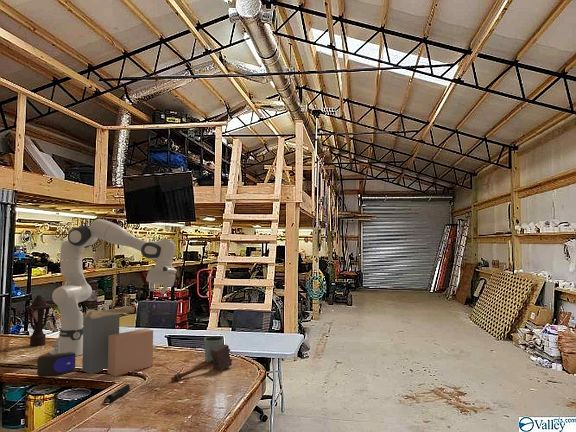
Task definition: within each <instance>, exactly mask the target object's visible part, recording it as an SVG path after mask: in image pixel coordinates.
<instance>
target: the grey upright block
mask: <svg viewBox="0 0 576 432" xmlns="http://www.w3.org/2000/svg"><path fill="white" fill-rule="evenodd" d="M120 315H121V314H117V315H110V316H103V317H101V318H95V319H92V318H88V317H86V316H83V354H82V367H81V370H82V372H84V373H87V374H89V375H93V374H98V373H101V372H100V371H101V370H103V369H108V335H113V334H119V333H120V317H121V316H120Z"/></svg>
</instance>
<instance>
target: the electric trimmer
mask: <svg viewBox="0 0 576 432" xmlns="http://www.w3.org/2000/svg"><path fill="white" fill-rule="evenodd" d="M130 390H131V388H130V384H126V385H124V386H123V387H121V388H119V389H117V390H115V391H114V392H112V393H111V394H108V395H106V397H105V398H104V399H103V402H102V403H112V404H113V403H114V402H115V400H118V399H119V398H120V397H121V398H122V397H123V396H125V395H126V394H128V392H129V391H130Z"/></svg>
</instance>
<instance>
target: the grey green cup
mask: <svg viewBox="0 0 576 432" xmlns="http://www.w3.org/2000/svg"><path fill="white" fill-rule="evenodd" d="M203 340H204V342H203V343H204V357H205V358H204V361H205V363H207V362H210V361H211V360H212V355H210V353H211V351H210V350H211V349H213V348H215V347H217V346H219V345H221V344H224V337H223V336H220V335H219V336H218V335H212V336H205V337H204V339H203Z"/></svg>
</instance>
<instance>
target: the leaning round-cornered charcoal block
mask: <svg viewBox="0 0 576 432" xmlns="http://www.w3.org/2000/svg"><path fill="white" fill-rule="evenodd" d="M76 357H77V356H76V354H75V352H67V353H59V354H52V355H51V354H45V355H40V356H38V357H37V360H36V361H37V365H36V367H37V369H36V375H37V376H38V377H41V378H42V377H54V376H60V375H66V374H68V373H72V372H74V371H75V369H76Z"/></svg>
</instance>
